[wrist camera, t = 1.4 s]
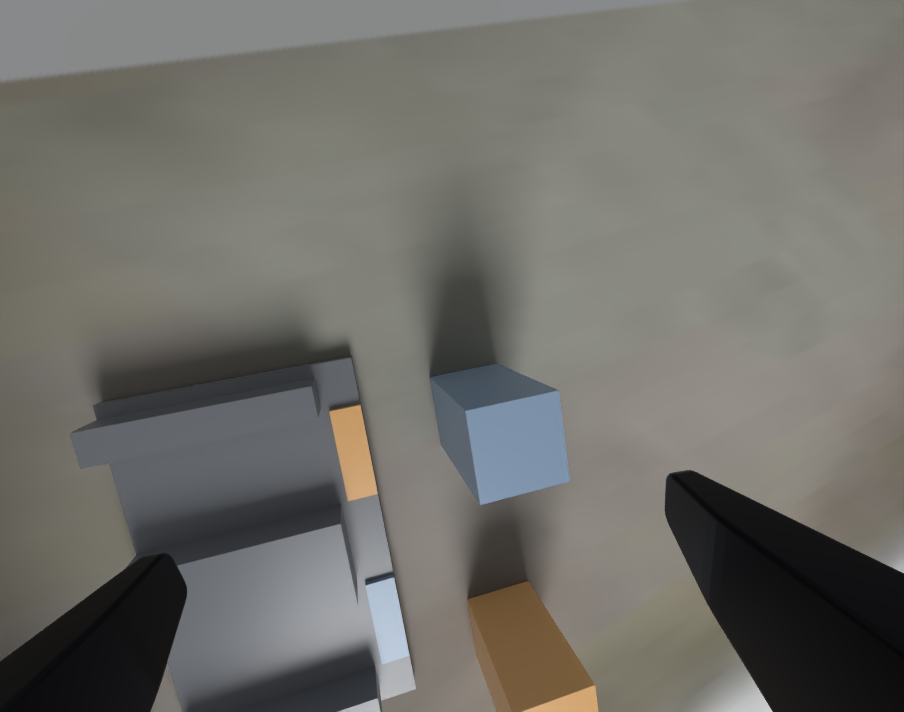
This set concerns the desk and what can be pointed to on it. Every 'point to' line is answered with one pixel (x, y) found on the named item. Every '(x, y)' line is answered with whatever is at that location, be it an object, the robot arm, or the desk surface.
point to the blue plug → (501, 431)
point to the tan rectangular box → (527, 655)
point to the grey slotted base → (263, 537)
